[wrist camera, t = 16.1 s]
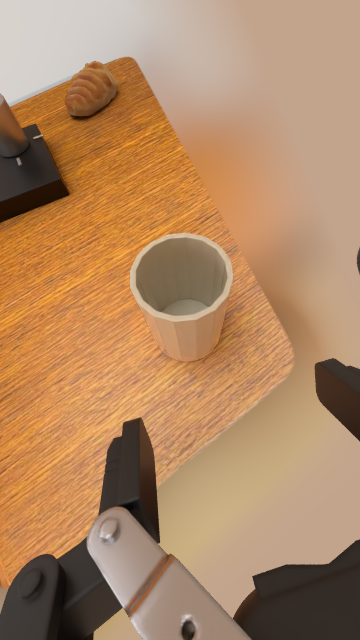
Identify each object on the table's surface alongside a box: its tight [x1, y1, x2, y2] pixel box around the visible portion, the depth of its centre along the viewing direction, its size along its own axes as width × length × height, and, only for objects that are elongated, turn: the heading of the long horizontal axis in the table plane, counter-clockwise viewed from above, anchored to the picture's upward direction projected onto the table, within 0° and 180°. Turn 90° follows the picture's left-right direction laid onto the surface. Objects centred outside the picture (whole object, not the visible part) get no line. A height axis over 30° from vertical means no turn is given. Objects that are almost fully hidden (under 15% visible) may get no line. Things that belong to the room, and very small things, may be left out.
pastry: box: [65, 61, 118, 116], centre depth 42 cm, size 9×7×4 cm
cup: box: [130, 233, 234, 362], centre depth 22 cm, size 7×7×10 cm
